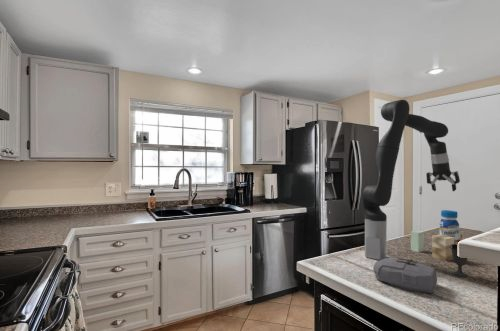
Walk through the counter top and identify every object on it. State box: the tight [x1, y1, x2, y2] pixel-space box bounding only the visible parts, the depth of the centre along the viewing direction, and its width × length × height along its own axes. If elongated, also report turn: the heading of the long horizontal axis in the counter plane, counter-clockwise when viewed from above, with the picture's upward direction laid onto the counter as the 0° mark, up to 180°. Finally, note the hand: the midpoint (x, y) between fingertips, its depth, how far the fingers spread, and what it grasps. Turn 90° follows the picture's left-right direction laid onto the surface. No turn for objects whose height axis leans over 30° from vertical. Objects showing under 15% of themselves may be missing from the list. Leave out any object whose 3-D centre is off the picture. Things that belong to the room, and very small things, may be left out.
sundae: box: [450, 234, 469, 278], centre depth 104 cm, size 7×7×15 cm
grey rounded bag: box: [372, 257, 438, 294], centre depth 95 cm, size 15×8×20 cm
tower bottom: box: [431, 246, 454, 262], centre depth 123 cm, size 6×6×5 cm
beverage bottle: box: [438, 209, 461, 242], centre depth 136 cm, size 8×8×20 cm
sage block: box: [410, 230, 425, 253], centre depth 135 cm, size 4×4×10 cm
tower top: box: [431, 234, 454, 250], centre depth 123 cm, size 6×6×5 cm
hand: (444, 190), depth 143 cm, fingers open, 8 cm apart
